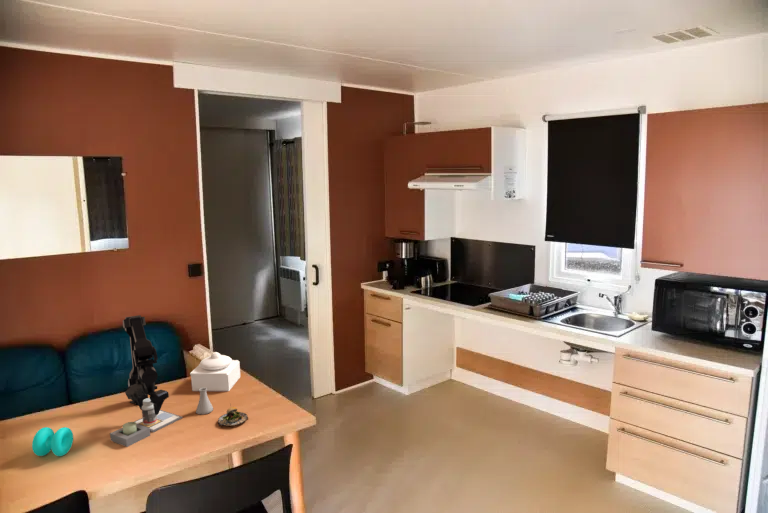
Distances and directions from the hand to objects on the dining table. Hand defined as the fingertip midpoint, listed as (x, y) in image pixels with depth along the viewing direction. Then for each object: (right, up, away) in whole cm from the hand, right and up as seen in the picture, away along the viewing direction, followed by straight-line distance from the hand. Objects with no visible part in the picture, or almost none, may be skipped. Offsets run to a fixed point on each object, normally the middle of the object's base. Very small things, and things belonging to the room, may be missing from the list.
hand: (149, 412), depth 216 cm
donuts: (-25, -9, -21) cm, 34 cm away
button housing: (-3, -7, -10) cm, 13 cm away
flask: (+18, -3, +12) cm, 22 cm away
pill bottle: (0, -5, +1) cm, 5 cm away
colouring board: (+2, -5, +3) cm, 6 cm away
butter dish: (+14, +1, +41) cm, 44 cm away
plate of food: (+33, -5, +2) cm, 34 cm away
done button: (-3, -6, -10) cm, 12 cm away
